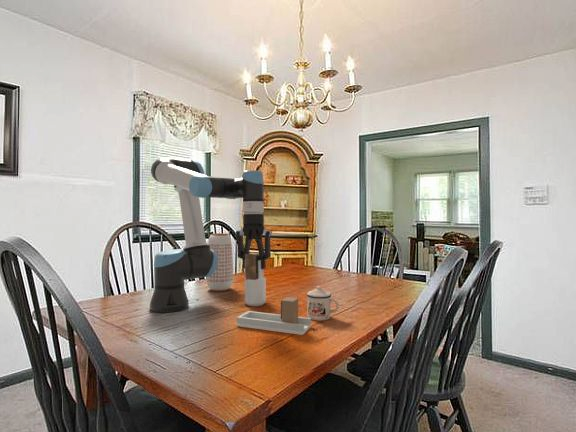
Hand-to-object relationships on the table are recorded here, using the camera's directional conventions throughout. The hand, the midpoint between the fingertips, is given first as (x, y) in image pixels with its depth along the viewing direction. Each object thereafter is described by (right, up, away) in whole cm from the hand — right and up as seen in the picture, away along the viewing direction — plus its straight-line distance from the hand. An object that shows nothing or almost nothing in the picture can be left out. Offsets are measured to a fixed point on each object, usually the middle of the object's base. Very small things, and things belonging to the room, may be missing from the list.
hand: (254, 277), depth 129 cm
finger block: (0, 0, 0) cm, 0 cm away
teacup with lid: (+25, -16, +4) cm, 30 cm away
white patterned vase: (-22, -15, +51) cm, 58 cm away
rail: (+7, -16, -6) cm, 18 cm away
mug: (-1, -16, +25) cm, 29 cm away
